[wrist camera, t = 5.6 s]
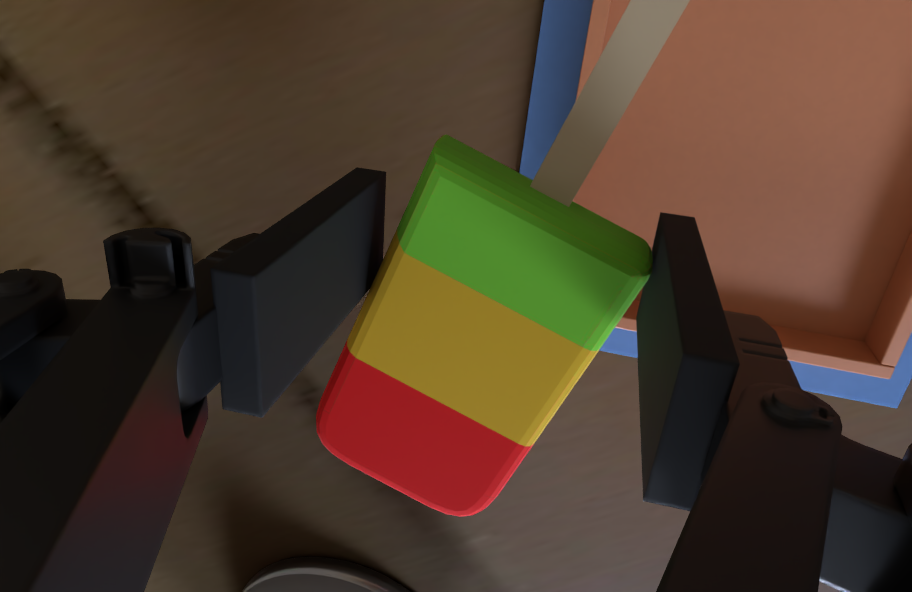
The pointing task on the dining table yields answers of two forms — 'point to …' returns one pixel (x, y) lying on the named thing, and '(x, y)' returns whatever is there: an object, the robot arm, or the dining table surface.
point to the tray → (777, 165)
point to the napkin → (545, 119)
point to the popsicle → (491, 301)
